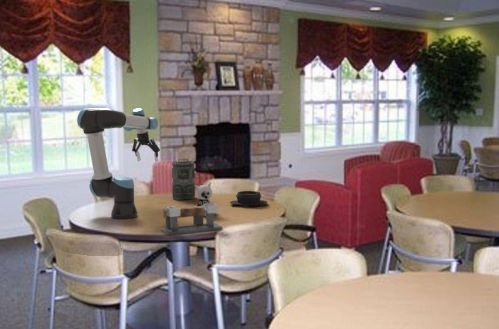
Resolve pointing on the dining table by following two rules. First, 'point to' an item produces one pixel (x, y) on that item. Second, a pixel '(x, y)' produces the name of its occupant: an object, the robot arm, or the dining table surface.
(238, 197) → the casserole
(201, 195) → the decorative figurine
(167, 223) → the rests
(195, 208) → the rail
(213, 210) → the bracket stand
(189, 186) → the canister
